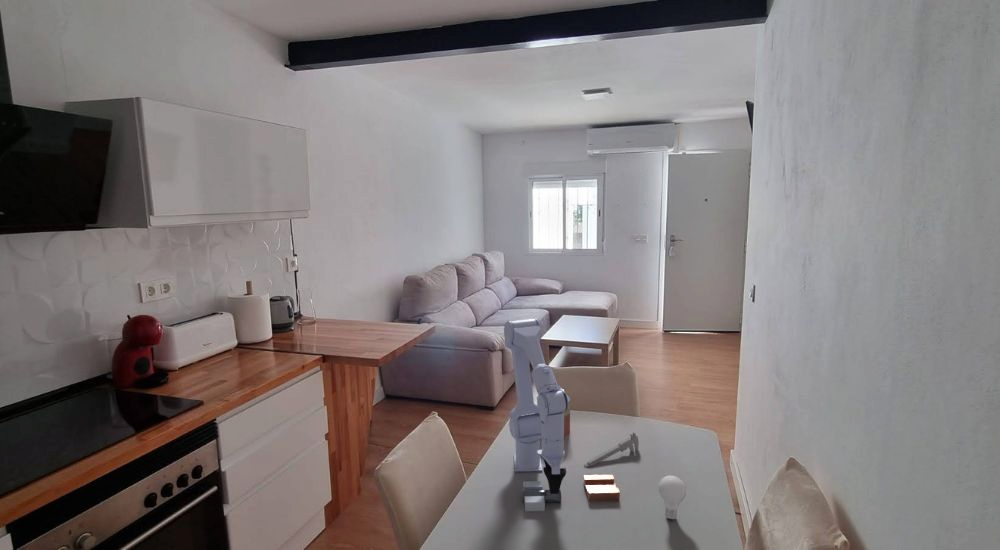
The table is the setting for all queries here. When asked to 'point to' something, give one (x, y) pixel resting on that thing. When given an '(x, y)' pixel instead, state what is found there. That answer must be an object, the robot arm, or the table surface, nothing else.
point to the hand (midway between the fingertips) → (552, 484)
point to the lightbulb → (672, 494)
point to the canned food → (565, 419)
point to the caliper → (616, 450)
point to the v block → (601, 488)
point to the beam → (534, 497)
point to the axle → (546, 493)
